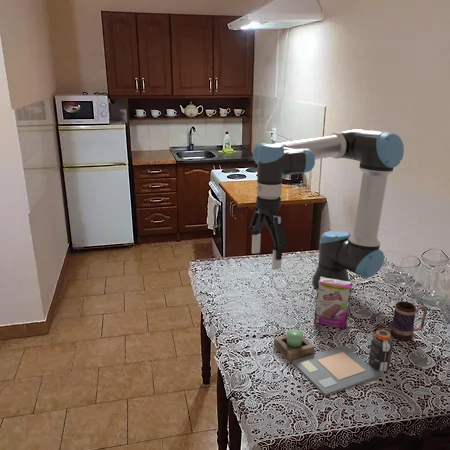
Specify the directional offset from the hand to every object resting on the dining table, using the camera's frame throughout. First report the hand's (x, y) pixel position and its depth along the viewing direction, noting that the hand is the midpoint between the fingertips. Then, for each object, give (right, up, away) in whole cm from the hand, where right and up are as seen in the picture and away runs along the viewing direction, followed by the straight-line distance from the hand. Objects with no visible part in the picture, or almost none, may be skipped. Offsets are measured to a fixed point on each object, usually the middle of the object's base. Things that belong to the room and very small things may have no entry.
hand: (265, 260), depth 137 cm
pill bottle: (+33, -31, -8) cm, 46 cm away
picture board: (+20, -31, -11) cm, 38 cm away
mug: (+48, -26, +7) cm, 55 cm away
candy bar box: (+24, -24, +14) cm, 36 cm away
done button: (+9, -26, -3) cm, 28 cm away
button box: (+9, -28, -2) cm, 30 cm away
